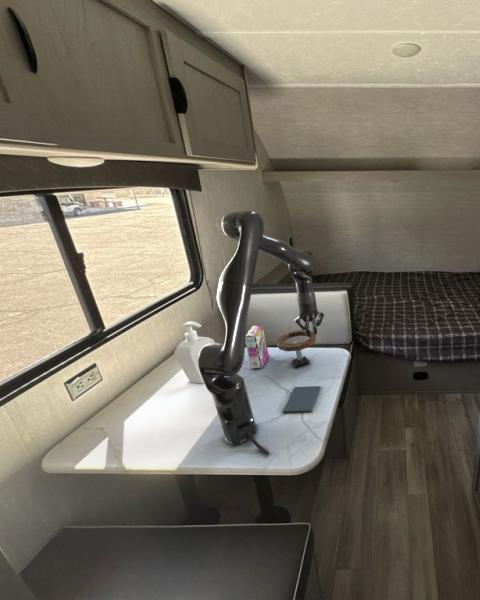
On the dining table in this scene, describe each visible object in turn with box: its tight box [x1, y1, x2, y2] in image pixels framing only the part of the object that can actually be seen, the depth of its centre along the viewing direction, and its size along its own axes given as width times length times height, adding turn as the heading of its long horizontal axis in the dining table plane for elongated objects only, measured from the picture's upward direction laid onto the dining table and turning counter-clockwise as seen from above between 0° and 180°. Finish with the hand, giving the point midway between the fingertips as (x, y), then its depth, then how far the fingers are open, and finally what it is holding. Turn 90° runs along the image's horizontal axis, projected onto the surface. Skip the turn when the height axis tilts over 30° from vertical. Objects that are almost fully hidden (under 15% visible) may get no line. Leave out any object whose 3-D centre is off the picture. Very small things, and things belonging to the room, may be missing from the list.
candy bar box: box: [245, 324, 269, 370], centre depth 140 cm, size 11×5×16 cm, turn 6°
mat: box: [282, 385, 321, 414], centre depth 117 cm, size 14×10×1 cm
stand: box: [291, 339, 310, 369], centre depth 139 cm, size 6×6×11 cm
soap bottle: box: [173, 320, 216, 384], centre depth 129 cm, size 12×10×26 cm
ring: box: [276, 329, 317, 352], centre depth 137 cm, size 16×16×2 cm
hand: (312, 335), depth 140 cm, fingers closed on ring, 2 cm apart
